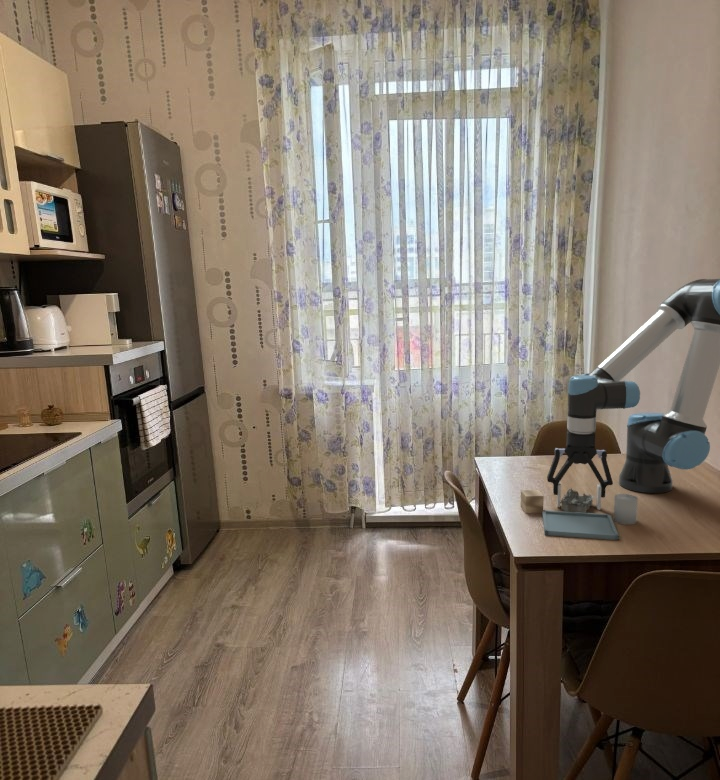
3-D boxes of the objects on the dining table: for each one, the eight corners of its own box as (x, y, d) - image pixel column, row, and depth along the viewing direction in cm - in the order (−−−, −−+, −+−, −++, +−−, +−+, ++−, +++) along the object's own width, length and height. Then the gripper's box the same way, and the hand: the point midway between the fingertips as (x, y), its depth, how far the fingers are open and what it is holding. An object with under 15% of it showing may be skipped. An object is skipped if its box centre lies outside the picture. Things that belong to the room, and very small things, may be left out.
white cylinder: (634, 517, 163) (635, 494, 162) (638, 525, 158) (639, 501, 157) (612, 516, 164) (613, 493, 163) (615, 523, 159) (616, 500, 158)
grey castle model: (569, 500, 178) (570, 486, 178) (595, 505, 174) (596, 491, 173) (557, 510, 170) (557, 497, 169) (584, 516, 165) (584, 502, 165)
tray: (609, 518, 163) (610, 514, 163) (618, 540, 149) (619, 535, 149) (542, 514, 167) (542, 510, 167) (544, 535, 153) (544, 530, 153)
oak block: (537, 506, 173) (538, 489, 172) (543, 512, 168) (543, 495, 168) (520, 507, 173) (520, 490, 172) (525, 513, 168) (525, 496, 168)
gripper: (622, 429, 169) (618, 504, 172) (538, 426, 174) (536, 499, 178) (627, 435, 161) (623, 514, 165) (539, 432, 167) (537, 508, 171)
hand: (578, 506), depth 171 cm, fingers open, 10 cm apart
